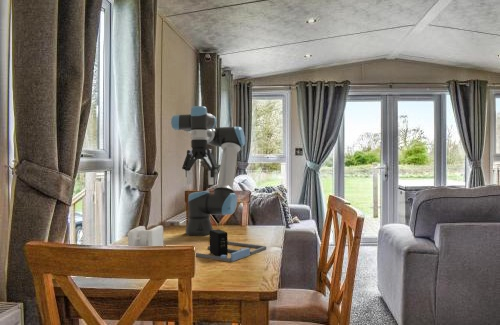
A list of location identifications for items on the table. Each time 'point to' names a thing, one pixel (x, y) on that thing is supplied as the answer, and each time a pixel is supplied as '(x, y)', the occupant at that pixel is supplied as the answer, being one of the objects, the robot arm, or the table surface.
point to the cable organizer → (145, 236)
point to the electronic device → (218, 242)
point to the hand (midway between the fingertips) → (199, 184)
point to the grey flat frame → (235, 252)
